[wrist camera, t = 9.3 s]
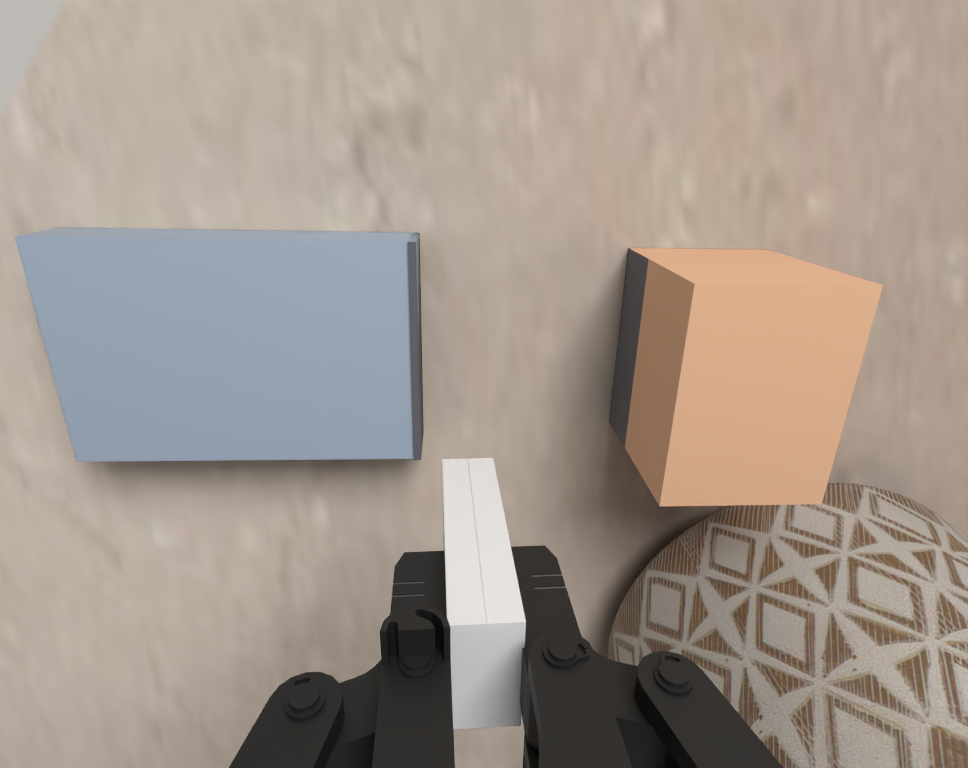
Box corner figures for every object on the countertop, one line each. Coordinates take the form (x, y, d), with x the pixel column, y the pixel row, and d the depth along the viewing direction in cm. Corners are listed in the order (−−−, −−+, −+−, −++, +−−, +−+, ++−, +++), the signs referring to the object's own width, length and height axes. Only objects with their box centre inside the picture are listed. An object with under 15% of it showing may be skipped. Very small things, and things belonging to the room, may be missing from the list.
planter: (620, 762, 36) (745, 1209, 21) (573, 508, 29) (713, 909, 14) (928, 701, 36) (1288, 1113, 20) (960, 426, 28) (1557, 748, 13)
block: (609, 421, 27) (659, 506, 21) (628, 248, 24) (694, 283, 18) (733, 420, 27) (821, 504, 21) (768, 249, 24) (882, 285, 18)
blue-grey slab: (110, 433, 26) (75, 463, 24) (59, 227, 23) (12, 236, 20) (423, 432, 27) (420, 459, 24) (419, 232, 23) (416, 242, 21)
